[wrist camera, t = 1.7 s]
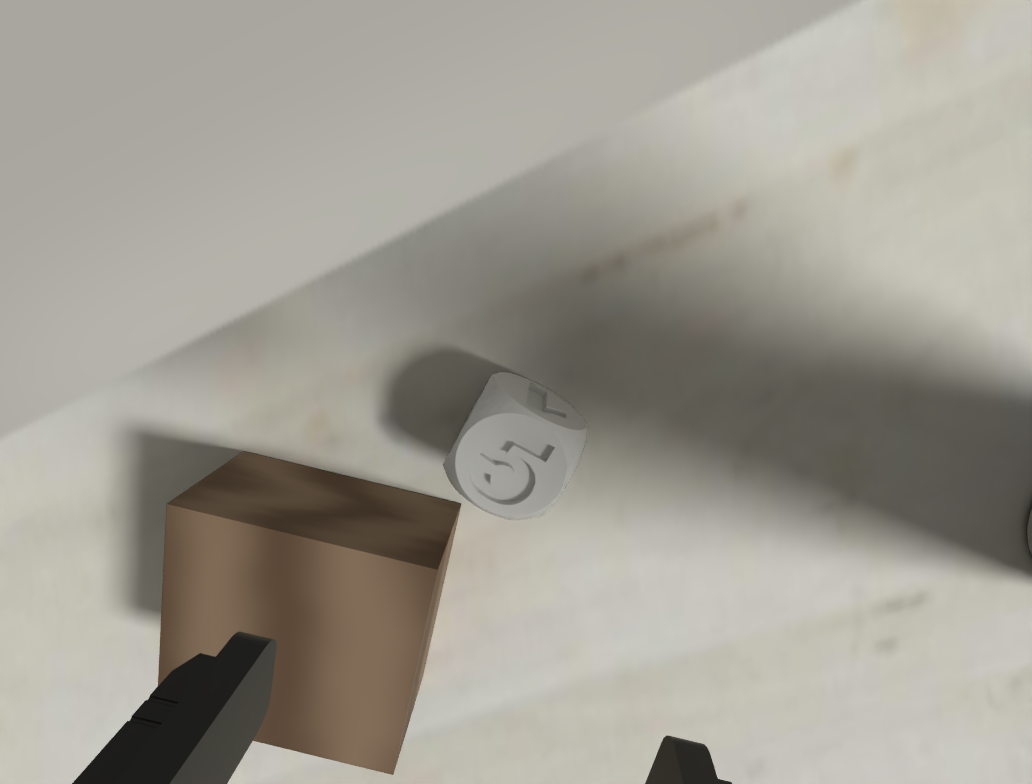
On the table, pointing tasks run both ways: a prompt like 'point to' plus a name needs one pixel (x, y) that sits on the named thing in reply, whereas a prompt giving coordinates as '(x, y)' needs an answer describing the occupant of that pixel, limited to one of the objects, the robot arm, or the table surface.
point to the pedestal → (311, 597)
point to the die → (516, 448)
